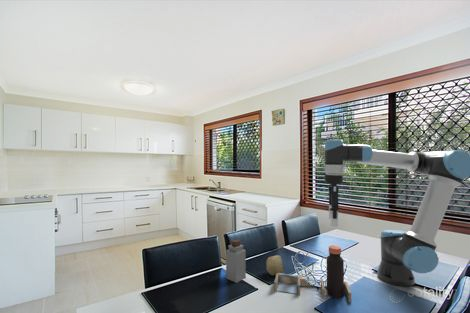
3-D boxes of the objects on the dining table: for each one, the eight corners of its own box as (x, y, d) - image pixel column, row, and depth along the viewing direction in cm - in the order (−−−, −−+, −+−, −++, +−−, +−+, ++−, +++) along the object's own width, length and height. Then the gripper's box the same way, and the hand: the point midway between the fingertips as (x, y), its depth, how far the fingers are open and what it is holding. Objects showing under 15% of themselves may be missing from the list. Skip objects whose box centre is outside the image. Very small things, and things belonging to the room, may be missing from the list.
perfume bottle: (245, 277, 120) (245, 240, 121) (236, 282, 115) (236, 244, 116) (235, 273, 125) (235, 237, 125) (226, 278, 120) (226, 241, 120)
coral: (291, 264, 119) (272, 256, 119) (282, 283, 119) (263, 275, 119) (287, 255, 128) (269, 248, 128) (279, 273, 129) (262, 265, 129)
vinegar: (347, 297, 102) (347, 249, 103) (334, 299, 101) (333, 250, 101) (336, 289, 109) (336, 243, 110) (323, 291, 107) (323, 245, 108)
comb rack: (346, 289, 109) (346, 280, 109) (351, 302, 99) (351, 291, 99) (276, 280, 117) (276, 272, 117) (274, 291, 107) (274, 282, 107)
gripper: (323, 173, 122) (323, 216, 121) (326, 175, 98) (325, 228, 98) (339, 173, 120) (339, 217, 119) (346, 176, 96) (346, 230, 95)
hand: (333, 222), depth 108 cm, fingers open, 13 cm apart
